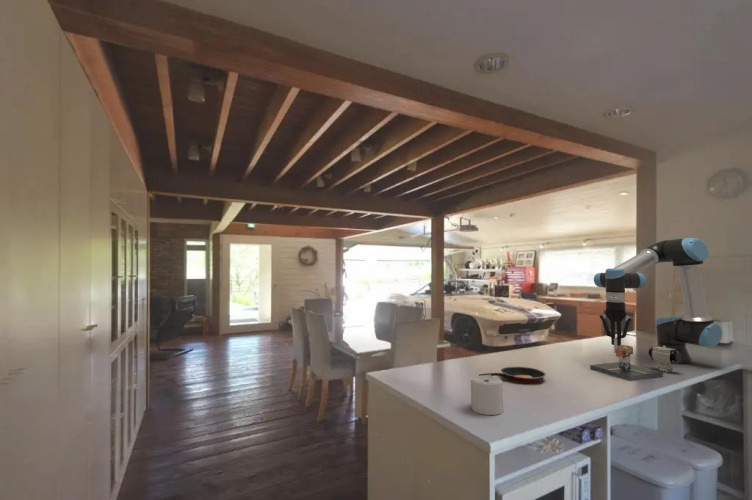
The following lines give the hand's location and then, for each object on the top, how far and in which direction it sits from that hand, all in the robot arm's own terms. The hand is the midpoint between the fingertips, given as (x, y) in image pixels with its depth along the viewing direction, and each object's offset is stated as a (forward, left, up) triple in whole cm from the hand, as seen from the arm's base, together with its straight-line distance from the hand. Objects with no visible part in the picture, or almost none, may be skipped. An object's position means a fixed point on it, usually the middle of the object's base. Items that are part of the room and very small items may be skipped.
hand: (616, 352), depth 163 cm
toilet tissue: (+81, +17, -11) cm, 84 cm away
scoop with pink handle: (-3, 0, -1) cm, 3 cm away
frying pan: (+52, -9, -11) cm, 53 cm away
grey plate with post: (-7, -2, -10) cm, 12 cm away
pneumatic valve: (-27, +2, -11) cm, 29 cm away
